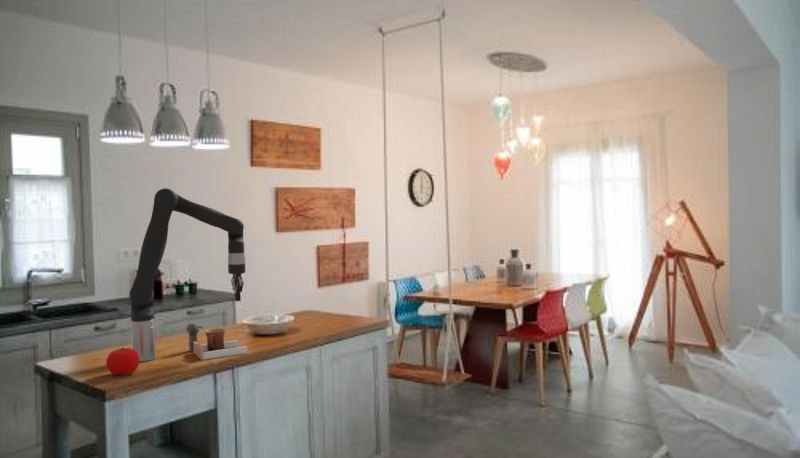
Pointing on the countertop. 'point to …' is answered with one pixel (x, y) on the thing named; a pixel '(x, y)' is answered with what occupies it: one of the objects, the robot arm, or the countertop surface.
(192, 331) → the winch prop
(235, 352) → the tray
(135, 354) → the tomato
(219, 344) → the mug
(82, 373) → the countertop surface
